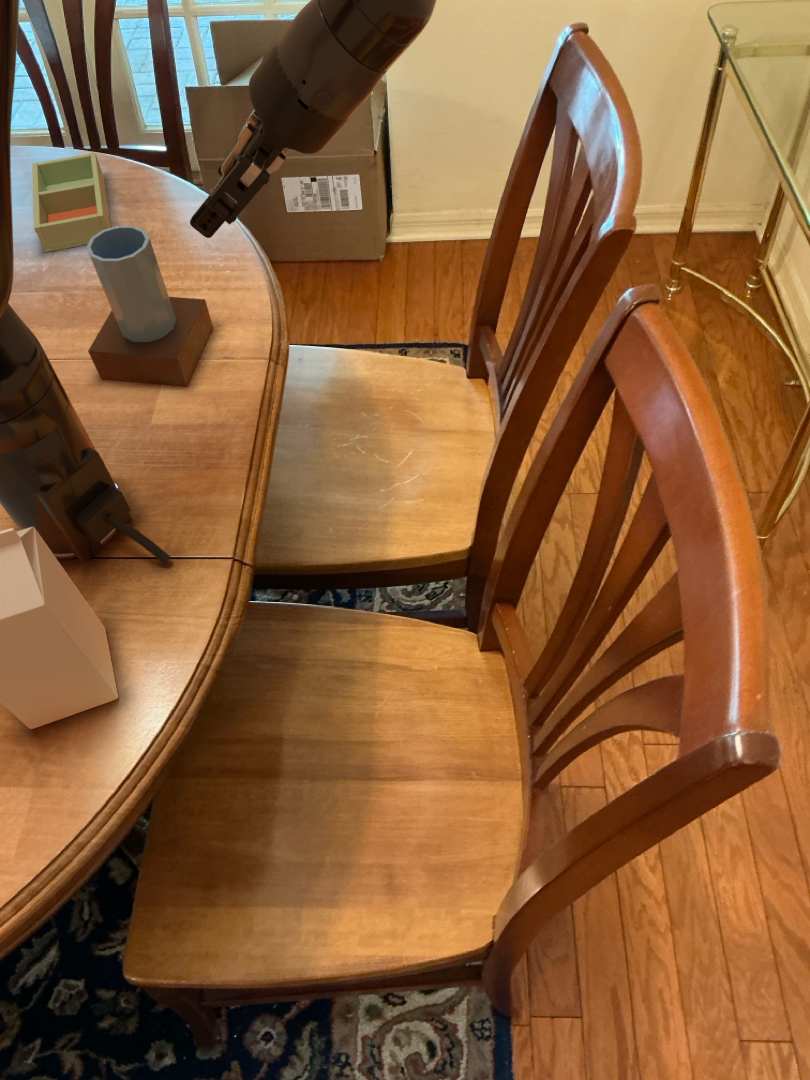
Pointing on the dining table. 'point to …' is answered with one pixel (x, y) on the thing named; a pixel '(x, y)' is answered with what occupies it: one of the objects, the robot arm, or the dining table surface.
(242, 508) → the dining table surface
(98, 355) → the brown square block
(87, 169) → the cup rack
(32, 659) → the milk carton
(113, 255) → the cup
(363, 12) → the robot arm
